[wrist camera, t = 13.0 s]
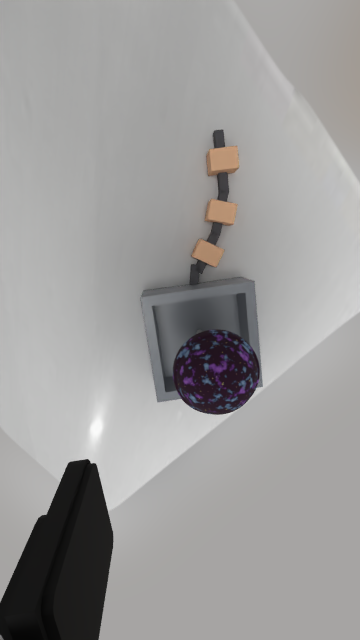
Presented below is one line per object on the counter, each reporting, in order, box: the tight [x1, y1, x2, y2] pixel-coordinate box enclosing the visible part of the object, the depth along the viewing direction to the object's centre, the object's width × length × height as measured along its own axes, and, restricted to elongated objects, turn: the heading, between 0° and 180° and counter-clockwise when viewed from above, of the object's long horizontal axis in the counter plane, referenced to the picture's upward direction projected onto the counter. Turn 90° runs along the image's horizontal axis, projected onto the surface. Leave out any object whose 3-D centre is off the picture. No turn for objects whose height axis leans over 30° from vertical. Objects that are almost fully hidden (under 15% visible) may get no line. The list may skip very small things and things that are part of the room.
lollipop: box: [173, 329, 260, 415], centre depth 28 cm, size 7×7×15 cm
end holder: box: [140, 277, 263, 402], centre depth 34 cm, size 12×12×5 cm
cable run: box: [190, 130, 239, 285], centre depth 33 cm, size 16×4×2 cm, turn 172°
